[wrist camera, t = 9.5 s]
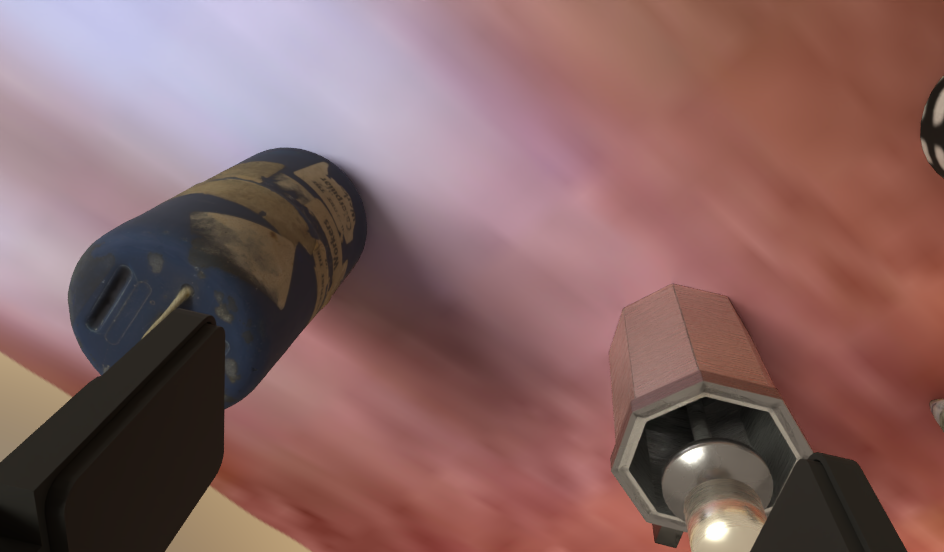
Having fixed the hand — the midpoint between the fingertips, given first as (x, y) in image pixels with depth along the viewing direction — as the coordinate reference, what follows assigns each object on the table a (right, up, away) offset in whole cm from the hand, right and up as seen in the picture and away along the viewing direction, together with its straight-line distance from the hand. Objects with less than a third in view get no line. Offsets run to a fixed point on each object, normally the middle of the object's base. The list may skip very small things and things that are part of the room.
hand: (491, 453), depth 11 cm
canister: (-11, +7, +34) cm, 36 cm away
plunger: (+13, -3, +31) cm, 34 cm away
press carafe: (+13, -3, +34) cm, 37 cm away
